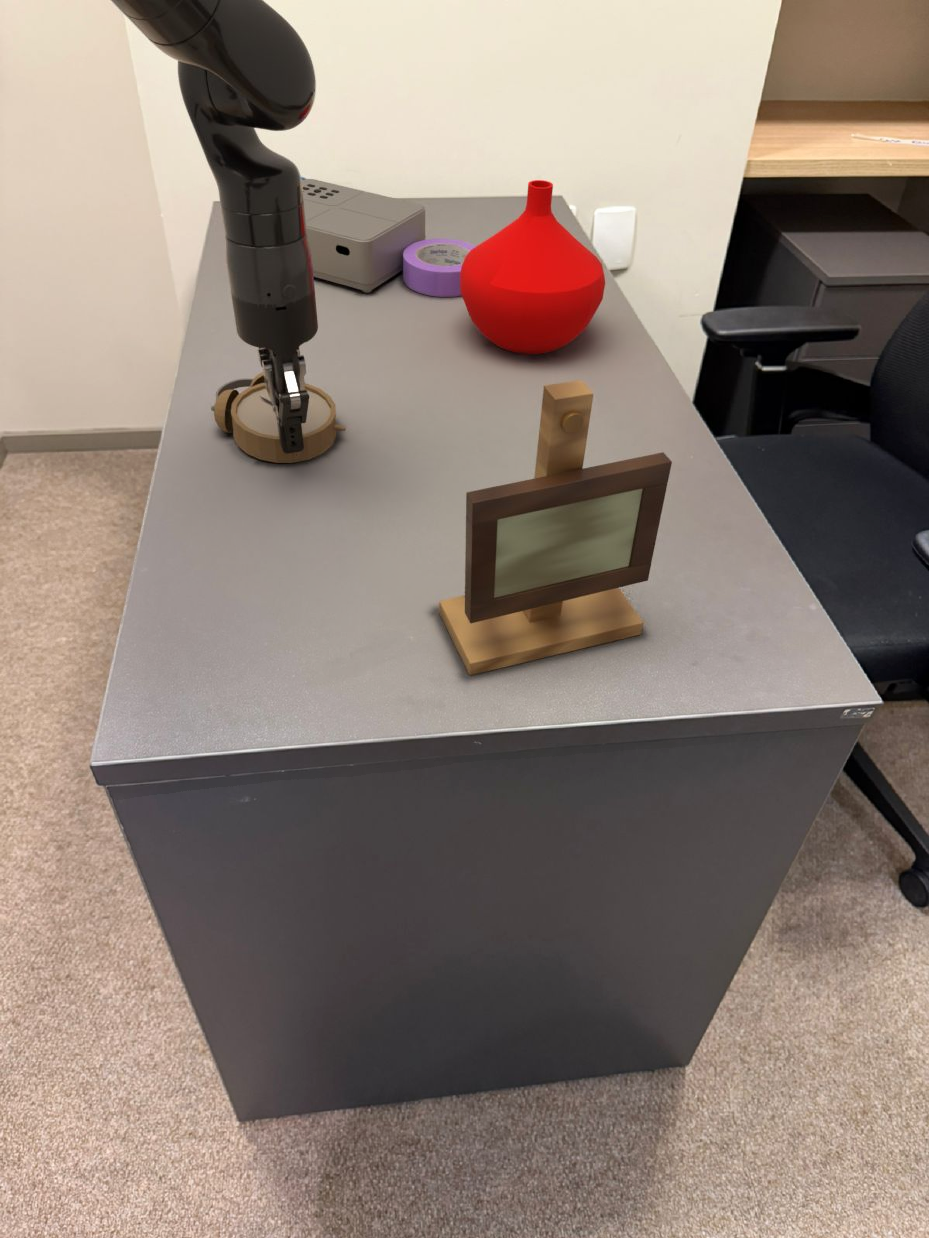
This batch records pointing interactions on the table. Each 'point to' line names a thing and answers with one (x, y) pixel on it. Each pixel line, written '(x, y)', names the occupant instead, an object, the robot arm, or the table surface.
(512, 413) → the table surface
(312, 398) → the alarm clock
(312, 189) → the projector
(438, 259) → the tape roll
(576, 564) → the frame
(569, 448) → the stand
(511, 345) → the vase
